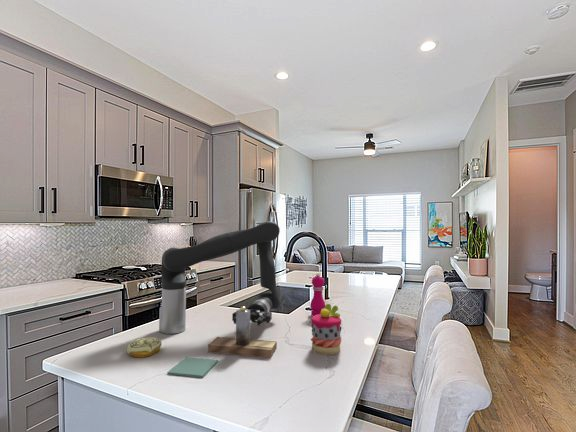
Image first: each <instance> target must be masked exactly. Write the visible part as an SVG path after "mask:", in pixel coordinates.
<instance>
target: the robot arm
mask: <svg viewBox="0 0 576 432" xmlns="http://www.w3.org/2000/svg"><path fill="white" fill-rule="evenodd" d="M279 235H280V227H279V225H278V224H277V223H276V222H274V221H271V220H268V221H264V222H260V223H258V224H257V225H255V226H253V227H250V228H247V229H242V230H241V229H239V230H235V231H228V232H225V233H222V234H218V235H216V236H215V235H214V236H213V237H210V238H209V239H205V240H204V241H202V242H200V243H198V244H195V245H191V246H186V247H180V248H179V247H178V248H177V247H170V248H168V249H166V250H164V252H163V253H162V256H161V306H160V307H159V317H158V319H159V321H158V323H159V325H158V332H159V333H163V334H167V335H170V334H171V335H173V334H178V333H183V332H184V331H185V330H186V317H187V316H186V315H187V314H186V313H187V312H186V311H187V307H186V306H187V279H186V269H187V268H190V267H192V266H194V265H196V264H199V263H202V262H205V261H210V260H215V259H217V258H222V257H225V256H228V255H231V254H234V253H237V252H239V251H242V250H245V249H247V248H248V247H251V246H253V245H257V248H258V249H257V251H258V256H259V258H258V259H259V273H260V275H259V276H260V277H259V282H260V287H261V288H264V289H267V290H269V291H270V292H262V293H259V294H258V295H257V298H256V300H255V301H254V302H252V304H250V305H249V306H248V308H247V309H248V310H250V322H252V323H255V324H257V326H261V325H262V324H264V323H266V324H270V322H271V321H272V319H273V317H272V316H273V313H272V312H271V311H272V310H277V309H279V307H280V305H281V297H280V293H279V291H278V287H277V282H276V281H277V280H276V279H277V276H276V275H277V274H276V266H275V262H274V258H273V254H272V241H275V240H276V239H277V238H278V237H279ZM231 318H232V319H231V321H233V324H234V325H236V311H234V312H232V317H231Z"/></svg>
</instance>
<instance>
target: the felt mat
mask: <svg viewBox="0 0 576 432" xmlns="http://www.w3.org/2000/svg"><path fill="white" fill-rule="evenodd" d="M218 363H219V359H215V358H213V359H212V358H202V357H201V358H200V357H193V356H185V357H184V358H183V359H182V360H180V361H179V362H177V363H176V364H175V365H174V366H173V367H172V368H171V369H169V370H168V371H167V375H169V376H170V375H173V376H181V377H191V378H199V379H200V378H201V379H202V378H203V379H204V377H206V375H207V374H208V373H209V372H211V370H212V369H213V368H214V367H215V366H216V365H217V364H218Z"/></svg>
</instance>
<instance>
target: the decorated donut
mask: <svg viewBox="0 0 576 432" xmlns="http://www.w3.org/2000/svg"><path fill="white" fill-rule="evenodd" d="M161 347H162V340H161V339H160V338H157V337H151V336H150V337H140V338H136V339H134V340H132V341H130V342H129V344H128V345H127V348H126V352H127V354H129V355H130V356H132V357H134V358H139V359H141V358H147V357H150V356H152V355H155V354H156V353H158V352H159V351H160V350H161Z"/></svg>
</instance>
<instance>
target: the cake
mask: <svg viewBox="0 0 576 432" xmlns="http://www.w3.org/2000/svg"><path fill="white" fill-rule="evenodd" d="M338 310H339V307H338V305H333V306H332V305H331V304H330V303H327V304H326V303H325V309H324V308H322V309H321V314H318V315H315V316H311V335H312V337H311V338H310V341H311V350H312V351H313V352H314V353H315V354H318V355H323V356H332V355H333V356H334V355H336V354H339V353H340V352H341V344H342V337H341V333H342V326H341V325H342V319H341V314H340V313H338V312H337V311H338Z"/></svg>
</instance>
